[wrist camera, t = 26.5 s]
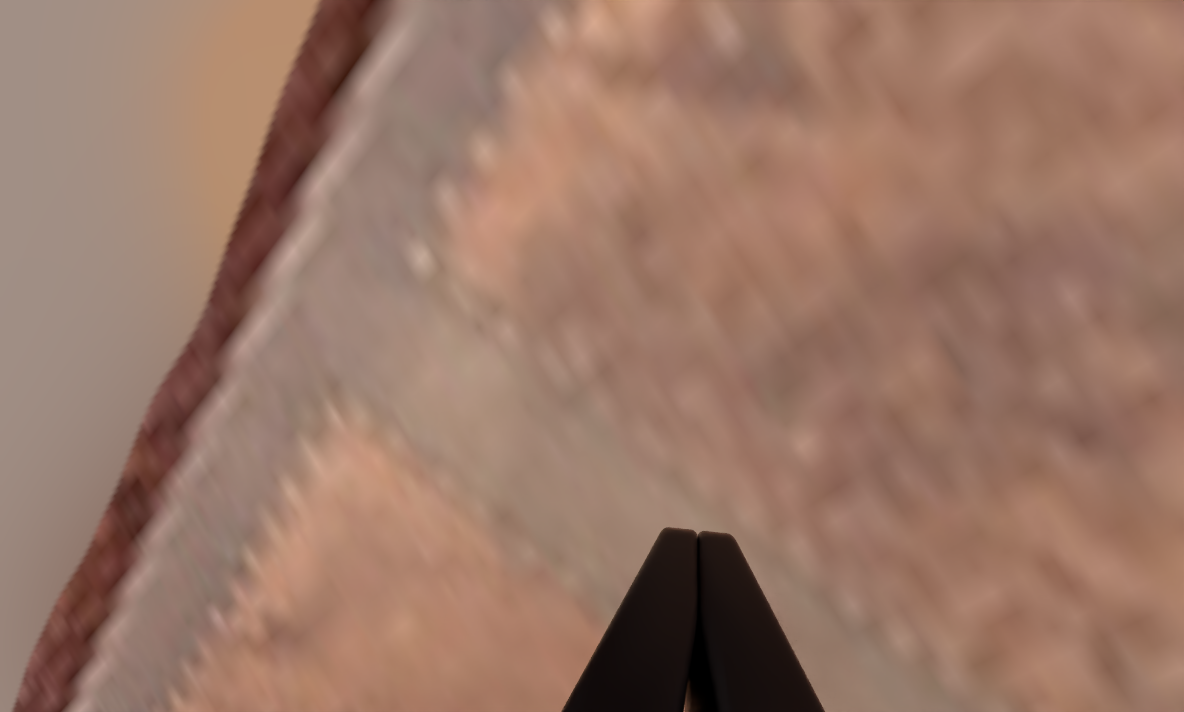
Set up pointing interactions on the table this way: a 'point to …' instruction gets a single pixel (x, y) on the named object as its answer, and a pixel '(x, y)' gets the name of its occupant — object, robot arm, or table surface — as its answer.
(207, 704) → the table surface
